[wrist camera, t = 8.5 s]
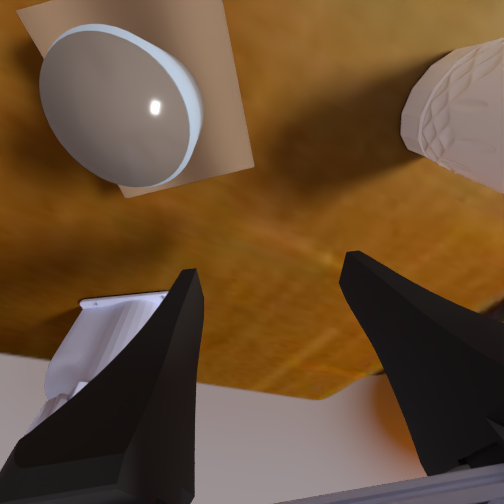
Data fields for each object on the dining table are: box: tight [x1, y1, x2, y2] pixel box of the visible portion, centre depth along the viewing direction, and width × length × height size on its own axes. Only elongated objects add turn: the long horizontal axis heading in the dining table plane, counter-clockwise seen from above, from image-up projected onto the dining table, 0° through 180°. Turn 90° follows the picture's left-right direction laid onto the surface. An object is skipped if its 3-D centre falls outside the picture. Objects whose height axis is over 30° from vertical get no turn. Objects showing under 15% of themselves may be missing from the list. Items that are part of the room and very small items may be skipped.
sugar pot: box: [39, 24, 205, 187], centre depth 10 cm, size 5×5×6 cm
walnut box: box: [16, 0, 254, 198], centre depth 14 cm, size 9×9×3 cm
